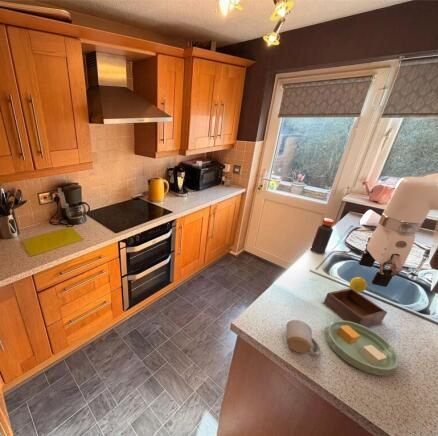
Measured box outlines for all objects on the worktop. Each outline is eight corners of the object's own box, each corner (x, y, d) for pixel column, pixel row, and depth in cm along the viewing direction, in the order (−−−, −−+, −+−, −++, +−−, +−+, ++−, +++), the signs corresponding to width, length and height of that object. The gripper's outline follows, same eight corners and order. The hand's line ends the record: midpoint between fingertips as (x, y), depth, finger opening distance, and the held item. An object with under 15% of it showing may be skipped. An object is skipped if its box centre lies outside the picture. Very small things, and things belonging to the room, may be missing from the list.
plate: (351, 322, 90) (354, 316, 88) (408, 368, 74) (414, 361, 72) (313, 332, 86) (316, 325, 84) (365, 383, 70) (370, 375, 68)
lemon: (364, 292, 104) (371, 278, 101) (359, 297, 102) (367, 283, 98) (349, 286, 109) (355, 272, 105) (344, 290, 106) (351, 276, 102)
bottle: (325, 254, 132) (338, 223, 124) (312, 252, 134) (323, 221, 126) (322, 248, 138) (334, 218, 129) (309, 246, 140) (319, 217, 132)
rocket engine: (405, 217, 156) (373, 207, 162) (400, 231, 153) (368, 220, 160) (392, 224, 166) (363, 213, 173) (388, 237, 163) (358, 226, 170)
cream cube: (367, 351, 78) (371, 344, 77) (382, 364, 74) (387, 357, 73) (359, 353, 78) (363, 346, 76) (374, 366, 74) (378, 359, 72)
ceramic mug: (283, 348, 80) (290, 333, 76) (283, 330, 86) (289, 316, 83) (320, 363, 75) (328, 348, 72) (317, 343, 82) (325, 328, 79)
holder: (346, 298, 102) (351, 287, 99) (380, 323, 90) (387, 312, 87) (323, 303, 99) (327, 292, 96) (355, 329, 87) (362, 318, 84)
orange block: (343, 331, 85) (347, 324, 84) (356, 342, 81) (360, 335, 80) (336, 333, 85) (339, 326, 83) (349, 344, 81) (352, 337, 79)
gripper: (439, 241, 53) (403, 298, 60) (400, 214, 67) (374, 262, 75) (397, 235, 56) (367, 289, 63) (368, 209, 70) (346, 256, 77)
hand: (371, 274), depth 69 cm, fingers open, 9 cm apart
